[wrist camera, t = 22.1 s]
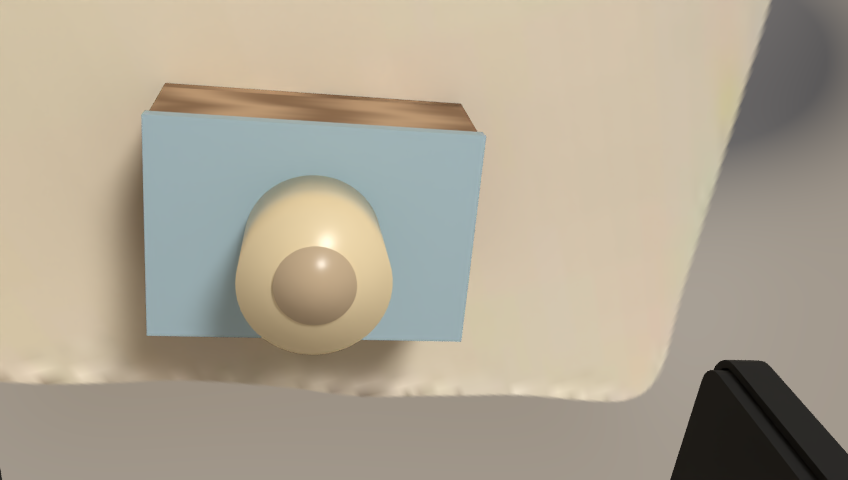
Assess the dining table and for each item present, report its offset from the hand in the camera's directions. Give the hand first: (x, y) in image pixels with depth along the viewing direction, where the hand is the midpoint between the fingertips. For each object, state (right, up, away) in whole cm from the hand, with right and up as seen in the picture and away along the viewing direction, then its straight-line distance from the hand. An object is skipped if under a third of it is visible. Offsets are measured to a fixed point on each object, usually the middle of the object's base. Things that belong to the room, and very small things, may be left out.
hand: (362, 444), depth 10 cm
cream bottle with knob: (-4, +3, +25) cm, 25 cm away
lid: (-4, +3, +25) cm, 26 cm away
